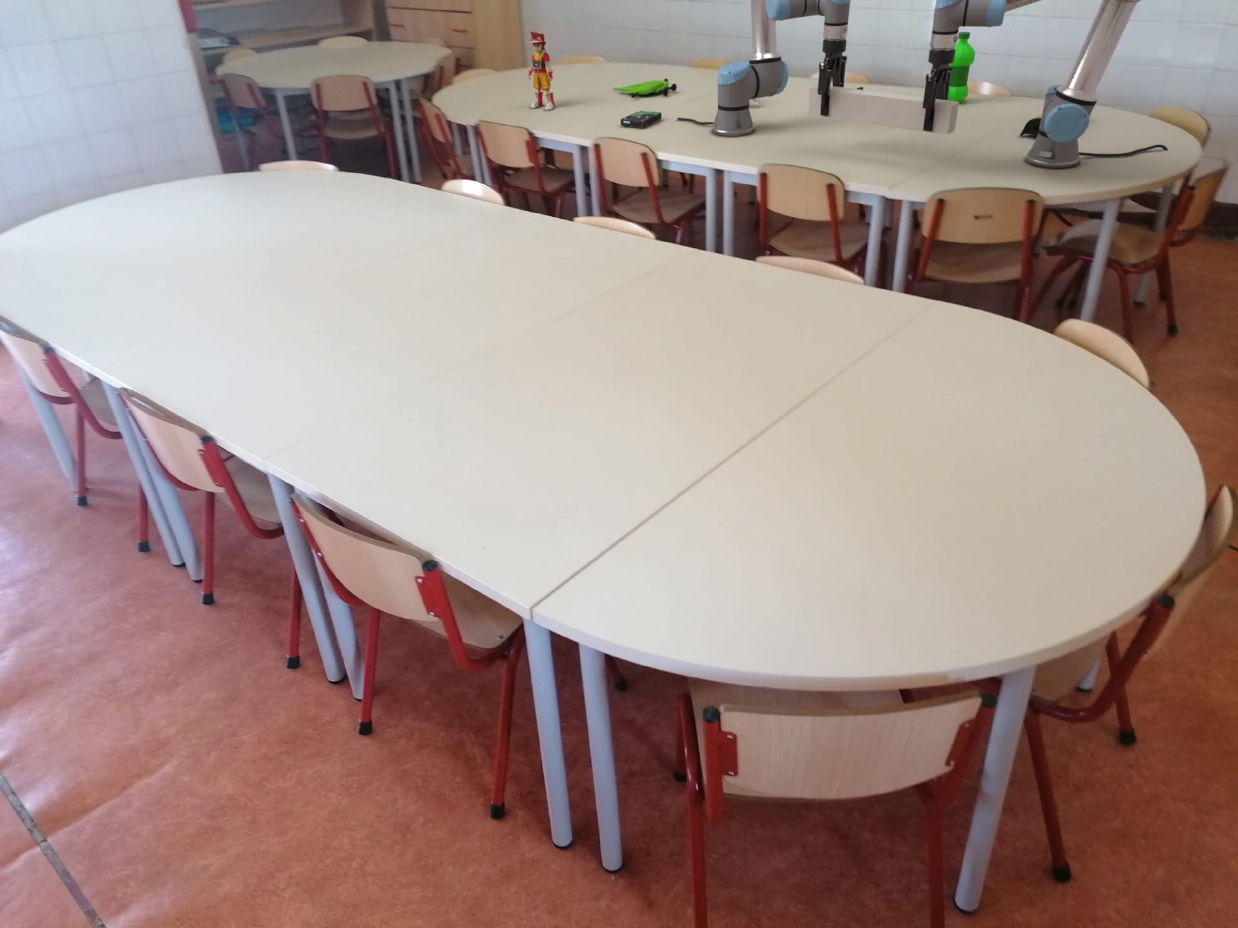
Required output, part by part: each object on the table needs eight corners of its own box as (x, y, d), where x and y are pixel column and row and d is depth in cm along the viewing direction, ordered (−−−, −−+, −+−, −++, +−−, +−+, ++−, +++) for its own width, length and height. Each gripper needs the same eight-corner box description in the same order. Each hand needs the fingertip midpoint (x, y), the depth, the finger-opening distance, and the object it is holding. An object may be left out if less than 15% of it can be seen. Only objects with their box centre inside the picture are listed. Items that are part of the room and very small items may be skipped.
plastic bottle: (973, 101, 354) (984, 32, 339) (955, 106, 349) (966, 36, 335) (952, 97, 361) (962, 29, 346) (934, 102, 356) (944, 33, 342)
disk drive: (643, 129, 346) (662, 119, 356) (642, 121, 344) (661, 112, 354) (620, 126, 351) (639, 117, 361) (620, 119, 349) (639, 109, 359)
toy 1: (525, 109, 381) (517, 32, 364) (534, 104, 388) (527, 28, 371) (550, 110, 377) (543, 32, 360) (559, 105, 384) (553, 28, 367)
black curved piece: (1048, 107, 329) (1073, 90, 321) (1062, 128, 329) (1087, 111, 321) (1015, 130, 312) (1041, 112, 303) (1030, 152, 312) (1055, 134, 304)
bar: (808, 114, 306) (809, 87, 301) (816, 111, 309) (818, 84, 304) (947, 135, 277) (951, 105, 272) (954, 131, 280) (959, 102, 275)
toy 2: (686, 85, 398) (631, 84, 414) (685, 72, 395) (629, 72, 411) (651, 104, 381) (596, 103, 397) (650, 92, 378) (594, 91, 394)
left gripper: (829, 45, 283) (823, 121, 296) (859, 35, 293) (852, 109, 307) (809, 42, 287) (804, 118, 301) (839, 33, 298) (833, 106, 311)
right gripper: (941, 55, 261) (929, 137, 274) (967, 44, 272) (955, 123, 285) (917, 53, 265) (907, 133, 279) (944, 42, 276) (933, 120, 290)
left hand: (828, 113), depth 304 cm, fingers closed on bar, 5 cm apart
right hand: (931, 128), depth 282 cm, fingers closed on bar, 5 cm apart
